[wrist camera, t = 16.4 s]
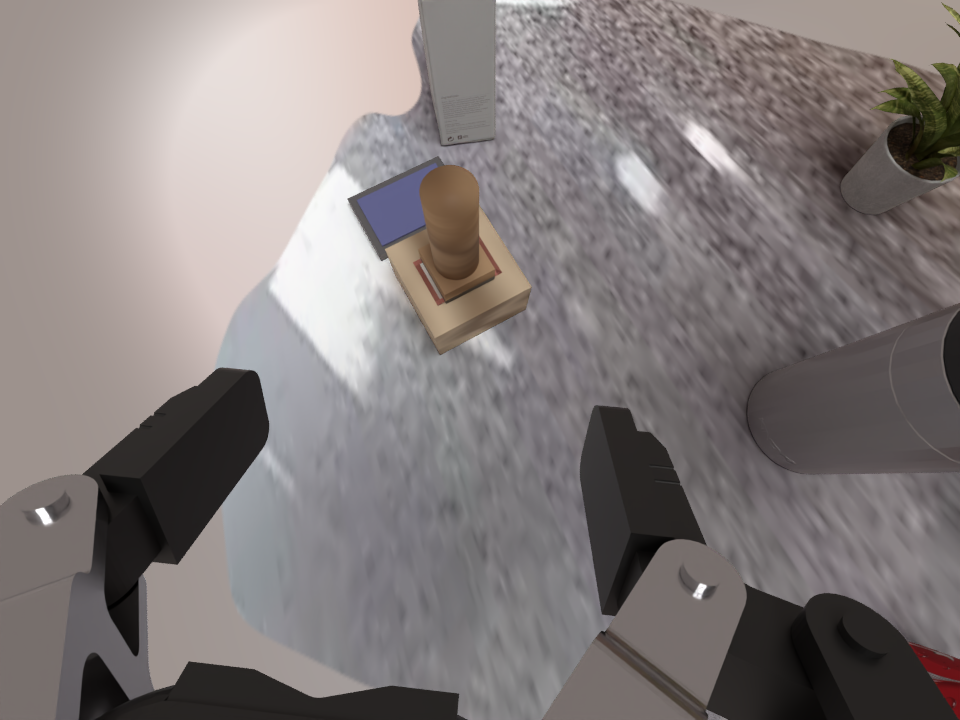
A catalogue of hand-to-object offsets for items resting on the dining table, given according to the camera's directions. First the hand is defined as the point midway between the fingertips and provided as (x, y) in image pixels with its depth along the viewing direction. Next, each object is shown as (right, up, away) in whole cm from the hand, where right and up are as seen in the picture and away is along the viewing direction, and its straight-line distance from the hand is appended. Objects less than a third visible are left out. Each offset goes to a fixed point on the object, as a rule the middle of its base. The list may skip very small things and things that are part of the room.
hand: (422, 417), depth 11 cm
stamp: (0, +9, +26) cm, 28 cm away
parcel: (-1, +8, +31) cm, 32 cm away
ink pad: (-5, +16, +34) cm, 38 cm away
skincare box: (-1, +28, +37) cm, 46 cm away
